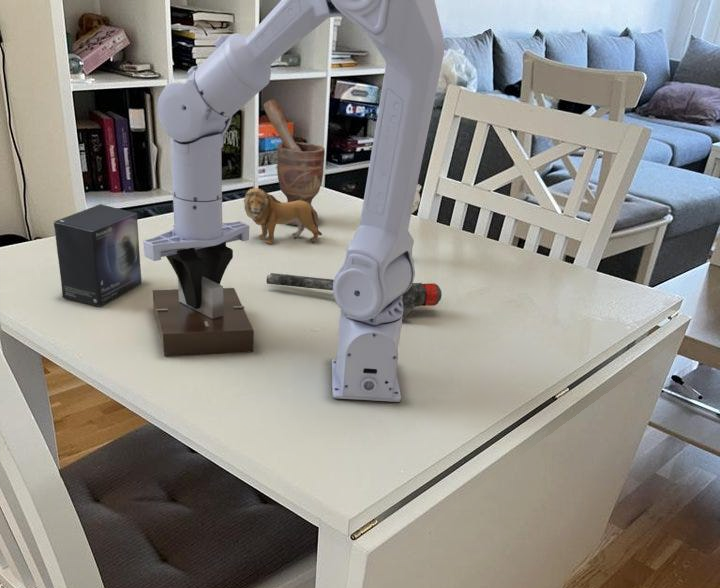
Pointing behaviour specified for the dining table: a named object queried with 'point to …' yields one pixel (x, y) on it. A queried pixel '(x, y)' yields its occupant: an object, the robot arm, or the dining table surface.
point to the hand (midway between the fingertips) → (201, 303)
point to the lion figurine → (279, 214)
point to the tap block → (201, 326)
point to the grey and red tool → (412, 298)
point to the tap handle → (208, 298)
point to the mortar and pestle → (295, 161)
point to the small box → (98, 254)
